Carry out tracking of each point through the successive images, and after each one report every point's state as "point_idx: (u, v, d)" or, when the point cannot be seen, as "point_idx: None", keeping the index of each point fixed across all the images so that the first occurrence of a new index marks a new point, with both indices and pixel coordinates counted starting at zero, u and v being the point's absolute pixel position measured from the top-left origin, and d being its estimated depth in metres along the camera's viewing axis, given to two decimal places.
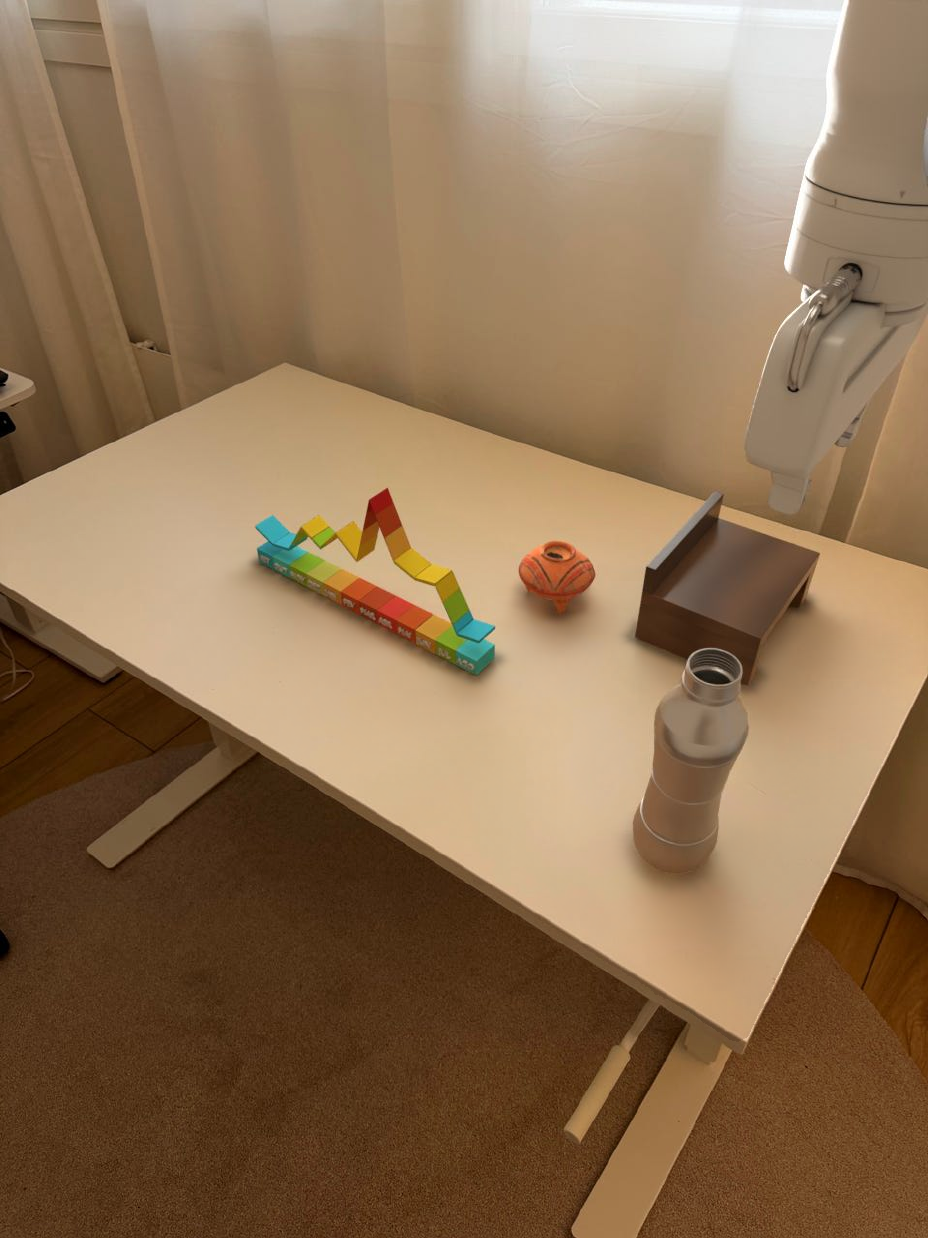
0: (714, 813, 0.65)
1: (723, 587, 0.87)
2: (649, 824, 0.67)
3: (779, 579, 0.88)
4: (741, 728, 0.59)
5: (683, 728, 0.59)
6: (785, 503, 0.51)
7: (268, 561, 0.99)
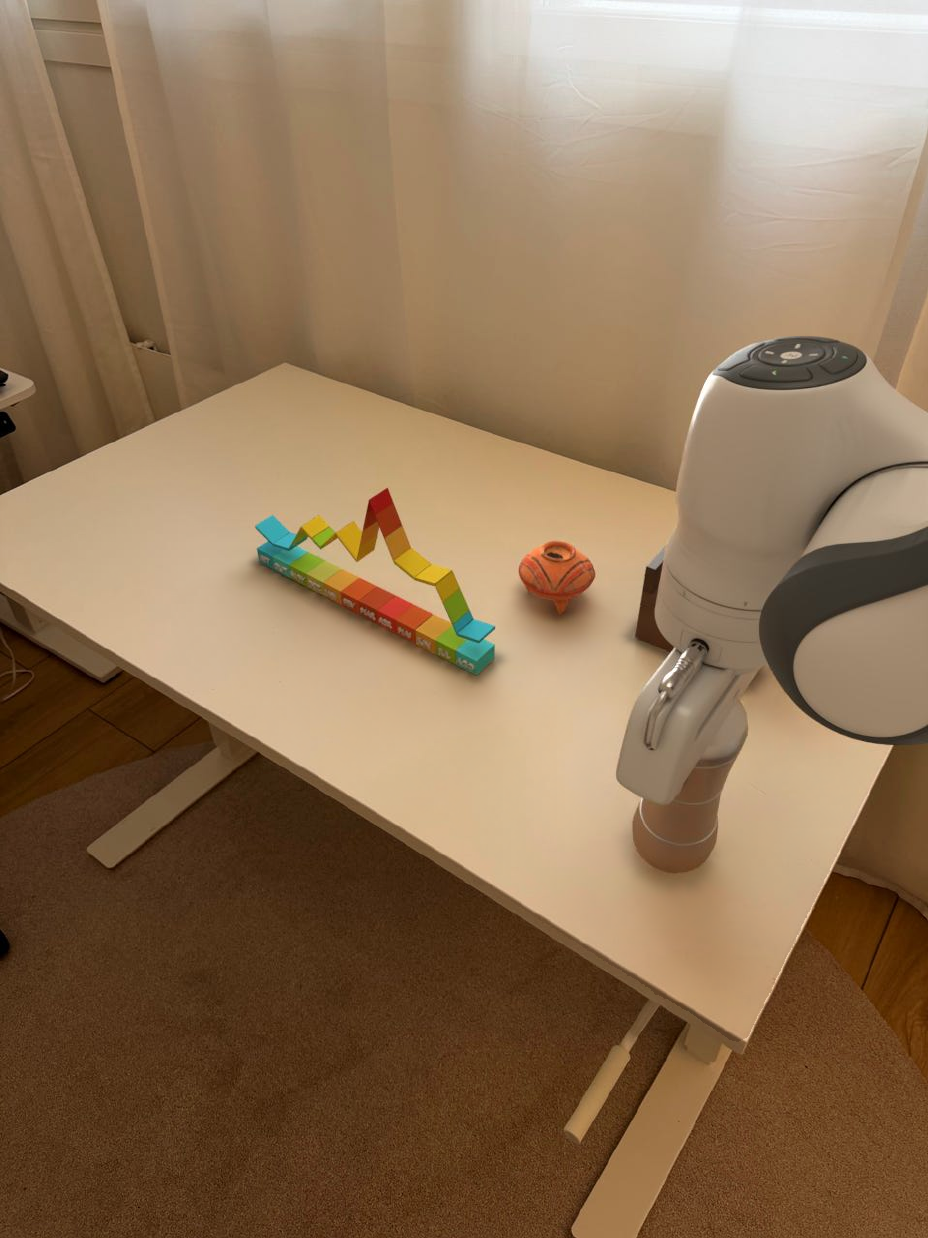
0: (713, 813, 0.65)
1: None
2: (648, 824, 0.67)
3: None
4: (740, 729, 0.59)
5: None
6: None
7: (268, 561, 0.99)
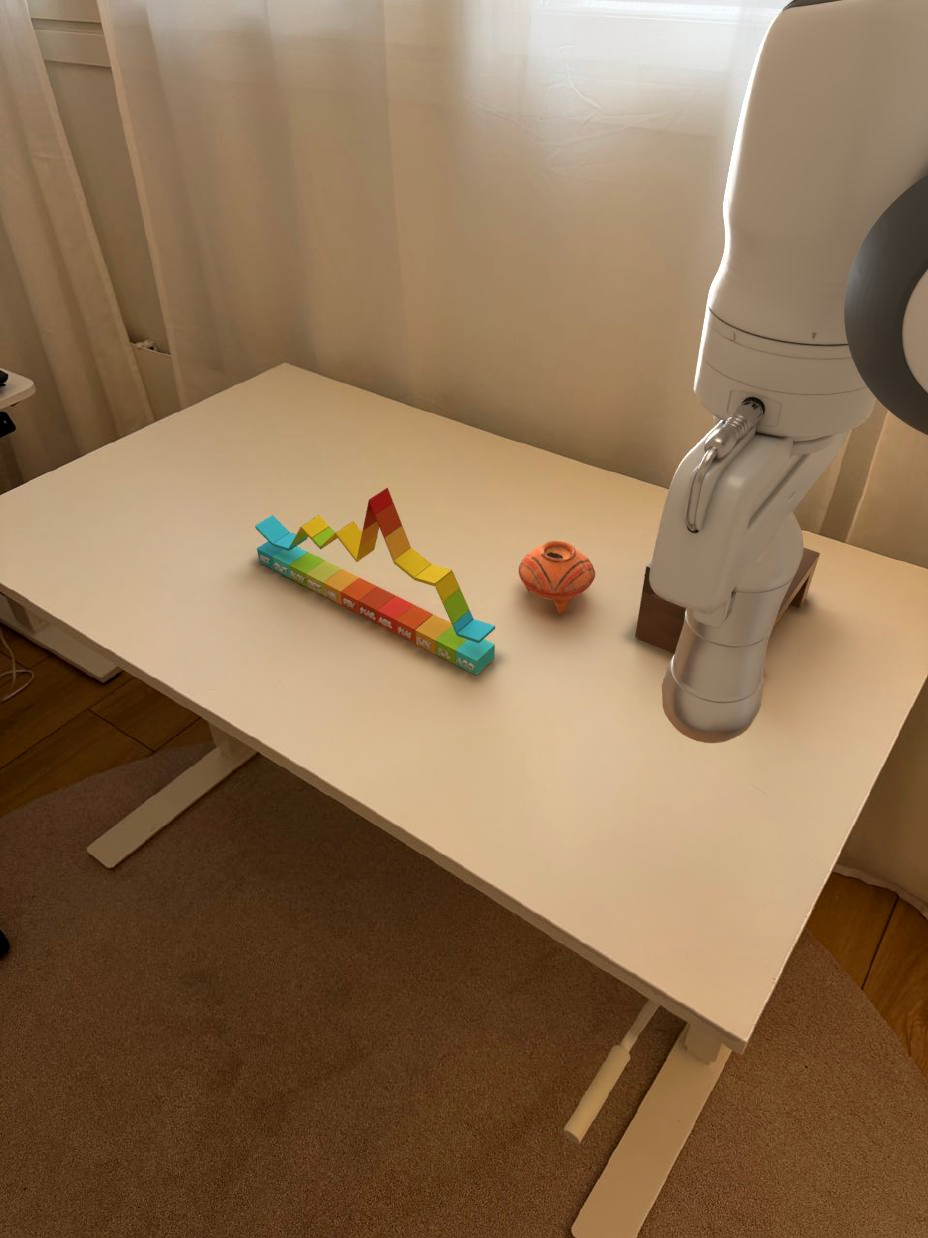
0: (760, 663, 0.55)
1: None
2: (682, 681, 0.57)
3: None
4: (795, 543, 0.49)
5: None
6: (709, 616, 0.50)
7: (268, 561, 0.99)
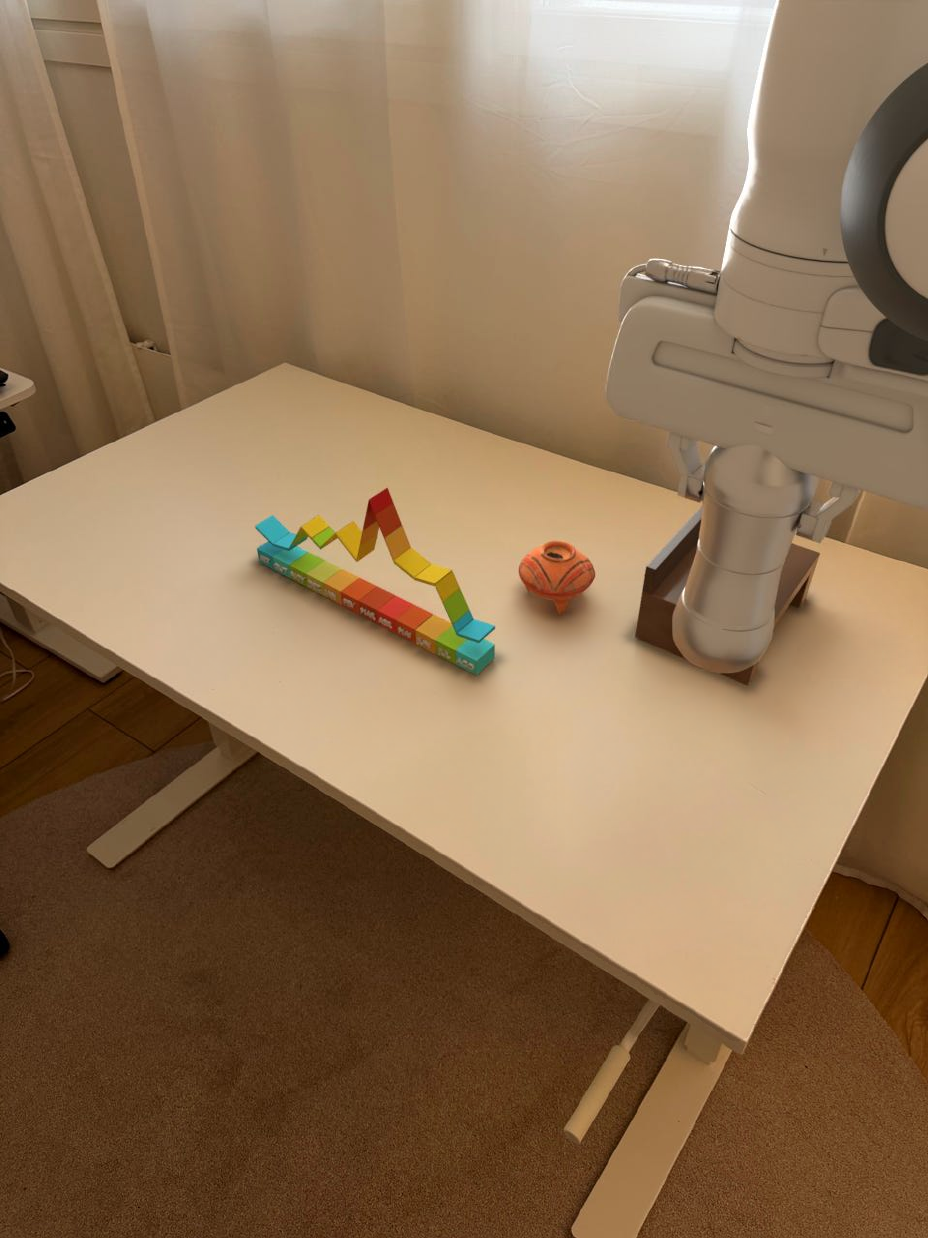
0: (712, 593, 0.57)
1: None
2: None
3: None
4: (744, 474, 0.51)
5: None
6: None
7: (268, 561, 0.99)
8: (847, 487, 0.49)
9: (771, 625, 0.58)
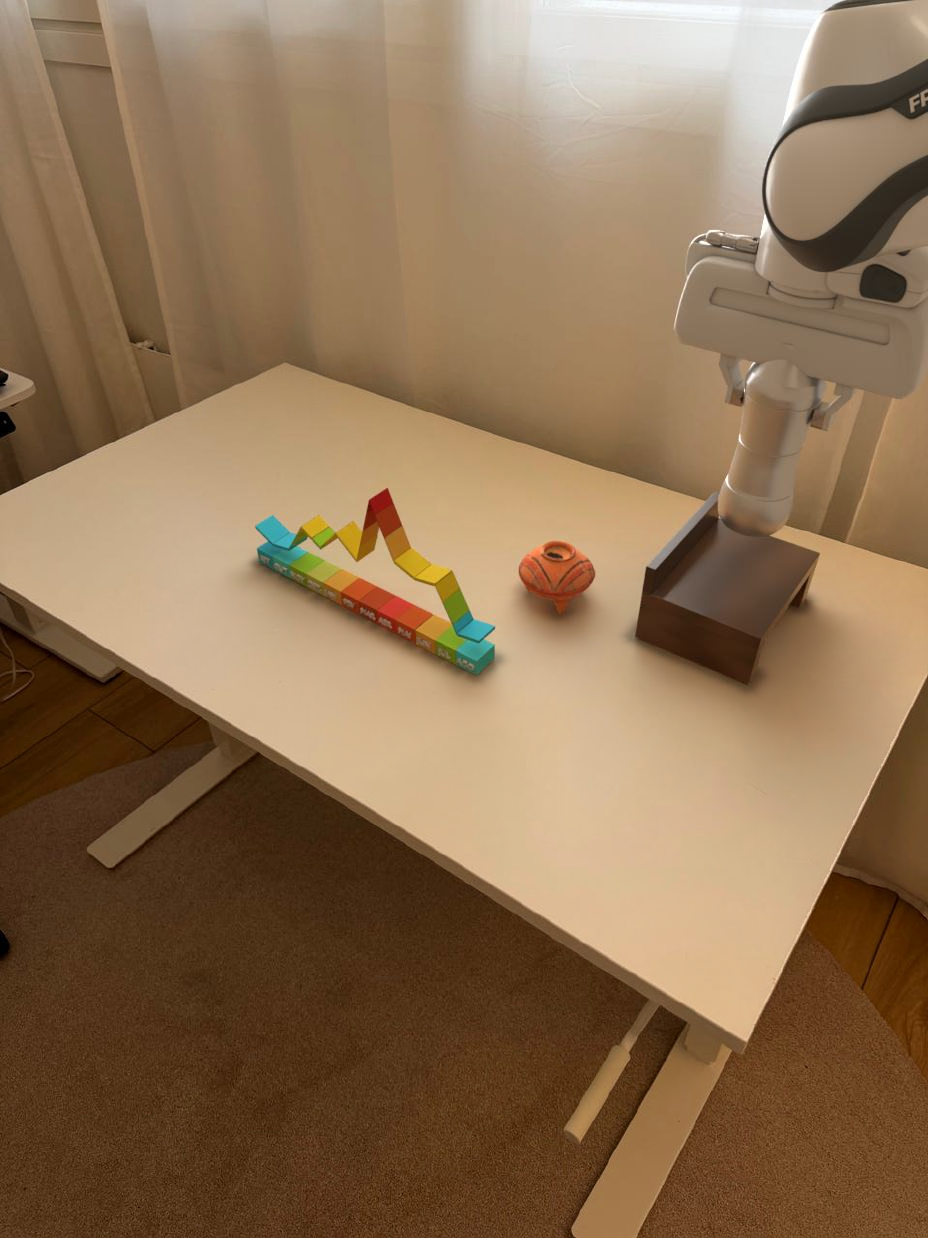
0: (749, 472, 0.79)
1: (723, 587, 0.87)
2: None
3: (779, 579, 0.88)
4: (774, 379, 0.73)
5: None
6: None
7: (268, 561, 0.99)
8: (846, 387, 0.71)
9: (791, 499, 0.80)
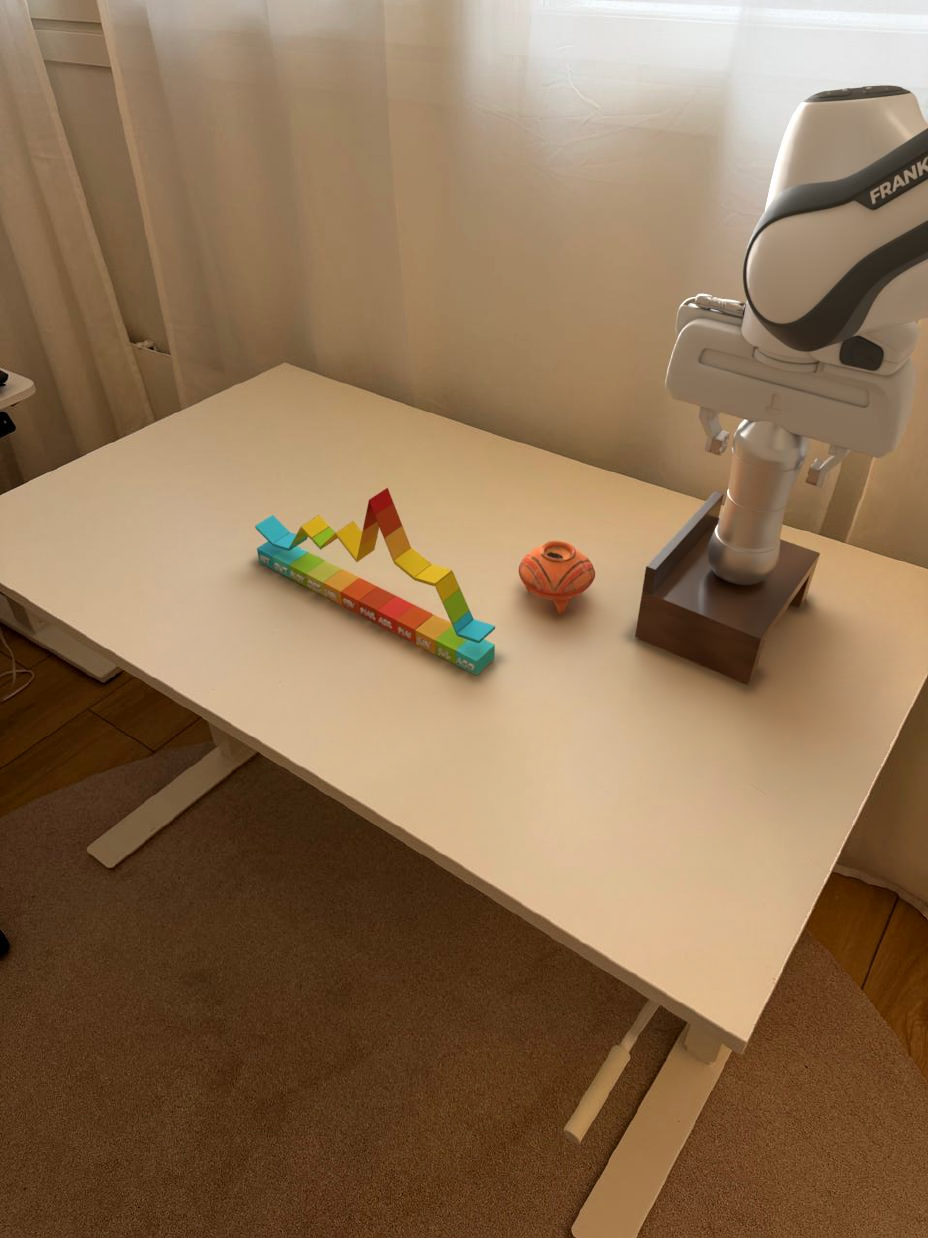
0: (737, 526, 0.82)
1: (723, 587, 0.87)
2: None
3: (779, 579, 0.88)
4: (760, 441, 0.76)
5: None
6: None
7: (268, 561, 0.99)
8: (840, 448, 0.74)
9: (778, 550, 0.84)
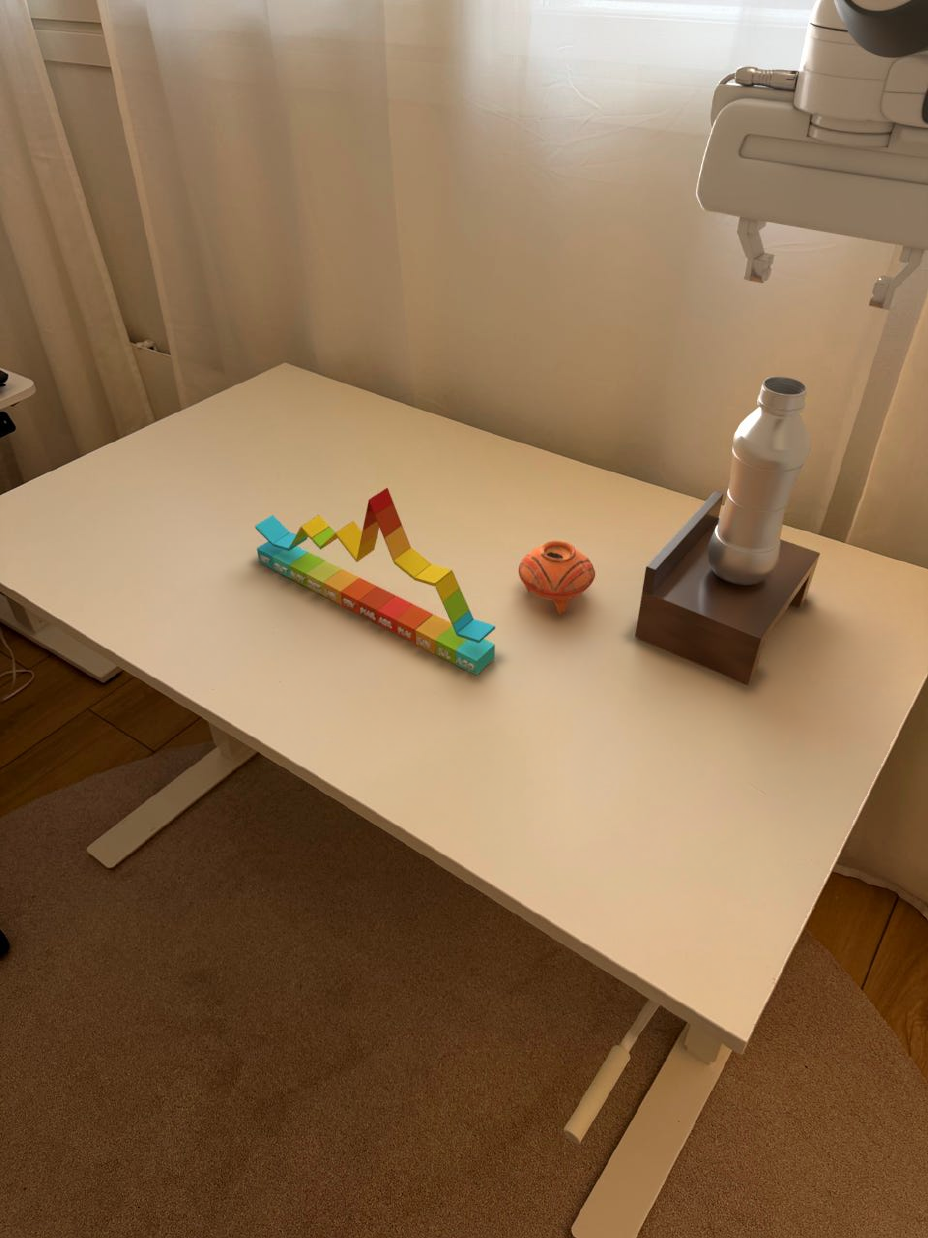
0: (737, 526, 0.82)
1: (723, 587, 0.87)
2: None
3: (779, 579, 0.88)
4: (761, 441, 0.76)
5: None
6: None
7: (268, 561, 0.99)
8: (915, 251, 0.60)
9: (778, 550, 0.84)
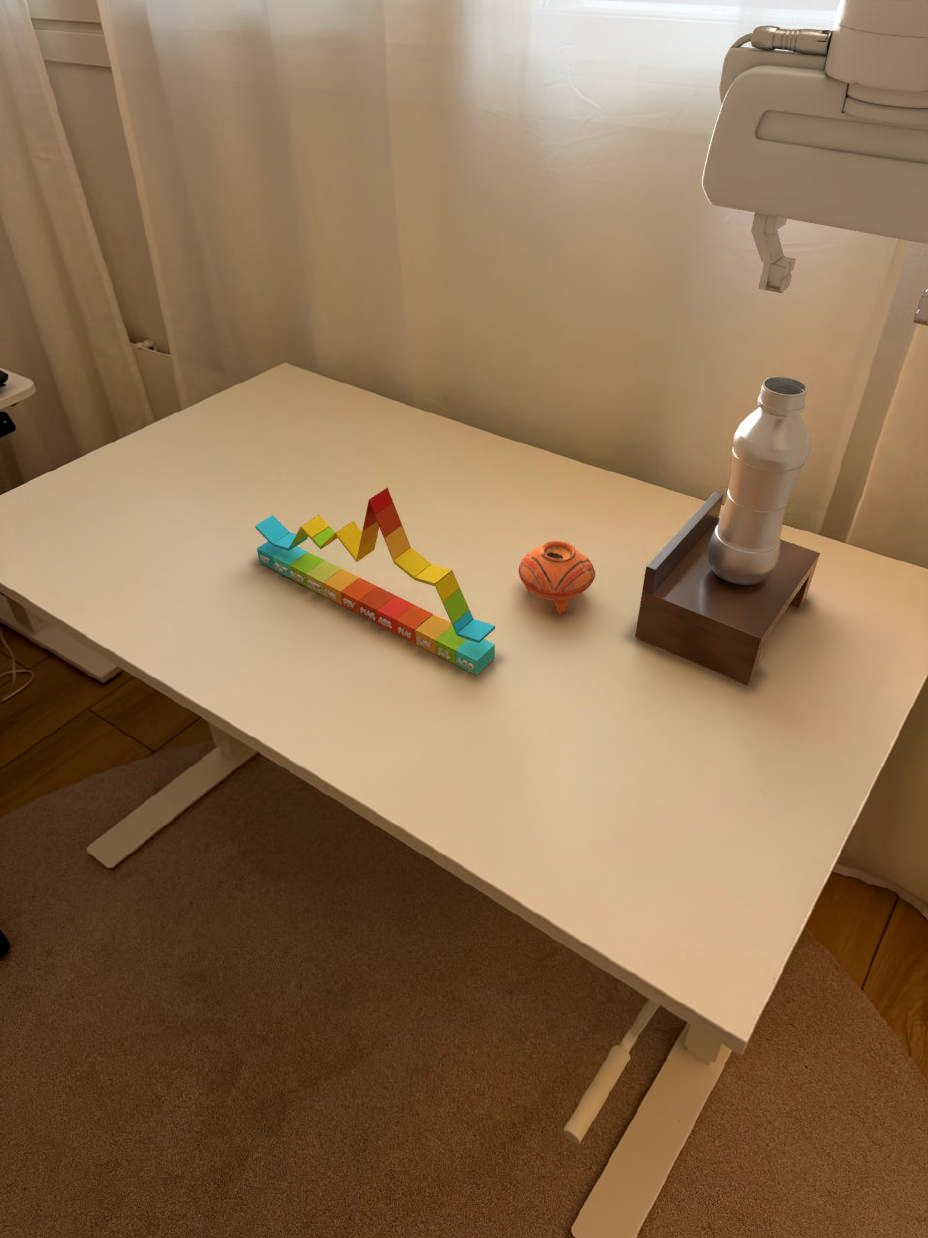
0: (737, 526, 0.82)
1: (723, 587, 0.87)
2: None
3: (779, 579, 0.88)
4: (761, 441, 0.76)
5: None
6: None
7: (268, 561, 0.99)
8: None
9: (778, 550, 0.84)
